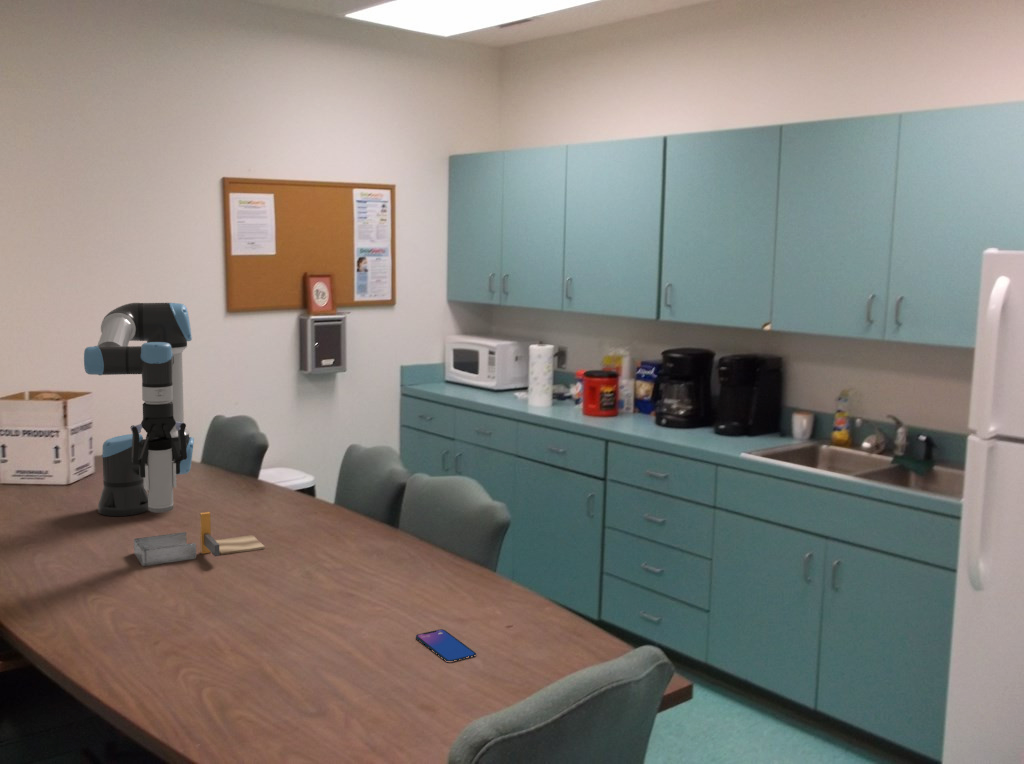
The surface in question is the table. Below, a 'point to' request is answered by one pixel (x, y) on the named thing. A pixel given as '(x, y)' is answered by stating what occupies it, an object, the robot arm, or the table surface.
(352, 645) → the table surface
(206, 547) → the bar
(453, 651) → the smartphone
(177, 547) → the holder
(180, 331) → the robot arm
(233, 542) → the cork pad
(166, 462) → the travel mug
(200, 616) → the table surface
